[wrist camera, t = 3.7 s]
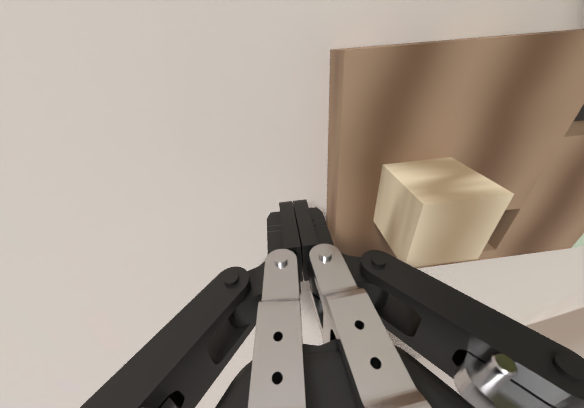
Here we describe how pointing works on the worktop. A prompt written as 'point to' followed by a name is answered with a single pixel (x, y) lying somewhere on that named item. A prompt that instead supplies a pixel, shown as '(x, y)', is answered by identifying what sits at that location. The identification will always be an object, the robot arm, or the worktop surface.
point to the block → (437, 210)
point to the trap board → (463, 131)
